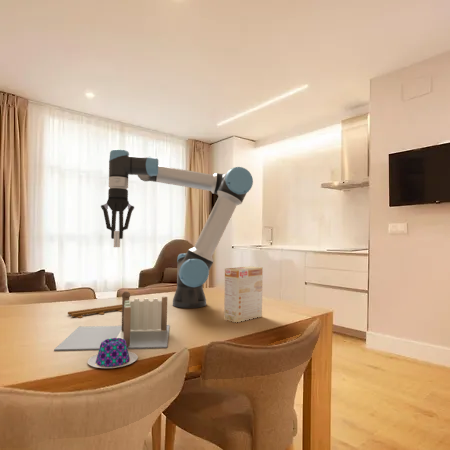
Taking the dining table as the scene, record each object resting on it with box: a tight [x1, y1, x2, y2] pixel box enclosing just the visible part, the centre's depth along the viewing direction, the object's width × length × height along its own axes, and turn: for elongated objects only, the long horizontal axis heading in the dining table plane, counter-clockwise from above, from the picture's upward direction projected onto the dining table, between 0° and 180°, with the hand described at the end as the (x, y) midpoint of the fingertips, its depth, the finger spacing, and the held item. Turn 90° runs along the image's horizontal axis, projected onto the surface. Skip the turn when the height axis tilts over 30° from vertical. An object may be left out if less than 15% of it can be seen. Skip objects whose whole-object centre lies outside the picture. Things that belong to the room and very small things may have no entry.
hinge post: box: [121, 291, 131, 332], centre depth 110 cm, size 3×3×13 cm
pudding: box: [87, 338, 138, 369], centre depth 86 cm, size 12×12×5 cm
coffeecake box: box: [223, 265, 263, 324], centre depth 132 cm, size 15×7×20 cm, turn 135°
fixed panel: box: [129, 296, 168, 331], centre depth 111 cm, size 12×2×11 cm, turn 98°
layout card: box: [53, 324, 170, 352], centre depth 105 cm, size 30×23×1 cm
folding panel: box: [123, 299, 131, 346], centre depth 102 cm, size 15×2×10 cm, turn 18°
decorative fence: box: [67, 304, 122, 319], centre depth 138 cm, size 25×2×10 cm
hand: (116, 247), depth 137 cm, fingers closed
